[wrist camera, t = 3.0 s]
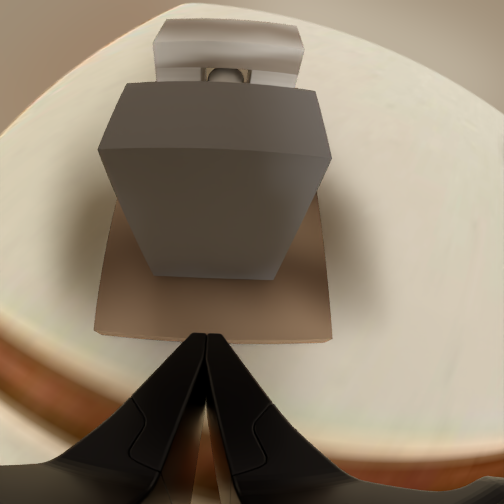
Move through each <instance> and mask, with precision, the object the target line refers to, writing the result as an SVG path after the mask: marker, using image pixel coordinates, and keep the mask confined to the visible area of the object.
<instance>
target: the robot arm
mask: <svg viewBox="0 0 504 504" xmlns="http://www.w3.org/2000/svg"><path fill="white" fill-rule="evenodd" d="M205 407H206V408H207V417H208V425H209V432H210V439H211V446H212V452H213V459H214V465H215V471H216V477H217V483H218V489H219V494H220V500H221V504H504V478H500V477H491V476H485V477H482V478H480V479H478V480H476V481H474V482H472V483H471V484H469V485H467V486H465V487H462V488H459V489H456V490H451V491H442V492H435V491H423V490H414V489H407V488H400V487H394V486H388V485H382V484H377V483H372V482H367V481H363V480H359V479H357V478H354V477H352V476H350V475H349V474H347V473H345V472H344V471H342V470H341V469H340V468H339V467H337V466H336V465H335V464H334V463H333V462H331V461H330V460H329V459H328V458H327V457H326V456H324V455H323V454H322V453H321V452H320V451H319V450H318V449H316V448H315V447H314V446H313V445H312V444H311V443H310V442H309V441H307V440H306V439H305V438H304V437H303V436H302V435H301V434H300V433H299V432H298V431H297V430H296V429H295V428H294V427H293V426H292V425H291V424H290V423H289V422H288V421H287V419H286V418H285V417H284V416H283V415H282V414H281V412H280V411H279V410H278V409H277V407H276V406H275V405H274V404H273V403H272V401H271V400H270V398H269V397H268V396H267V395H266V393H265V392H264V391H263V389H262V388H261V387H260V385H259V384H258V383H257V381H256V380H255V379H254V377H253V376H252V375H251V373H250V372H249V371H248V369H247V368H246V367H245V365H244V364H243V363H242V361H241V360H240V359H239V357H238V356H237V354H236V353H235V352H234V350H233V349H232V348H231V346H230V345H229V343H228V342H227V341H226V339H225V338H224V336H223V335H222V334H220V333H208V334H207V335H206V333H195V332H193V333H191V334H190V335H189V336H188V337H187V338H186V339H185V341H184V342H183V343H182V344H181V345H180V346H179V347H178V348H177V349H176V350H175V351H174V352H173V353H172V354H171V355H170V356H169V357H168V358H167V359H166V360H165V361H164V362H163V364H162V365H161V366H160V367H159V368H158V369H157V370H156V371H155V372H154V373H153V374H152V375H151V376H150V377H149V378H148V379H147V380H146V381H145V382H144V383H143V384H142V385H141V386H140V387H139V388H138V389H137V390H136V392H135V393H134V394H133V395H132V396H131V398H129V399H128V400H127V401H126V402H125V403H124V404H123V405H122V406H121V407H120V408H119V409H118V410H117V411H115V412H114V413H113V414H112V415H111V416H110V417H109V418H108V419H107V420H105V421H104V422H103V423H102V424H101V425H99V426H98V427H97V428H96V429H94V430H93V431H92V432H91V433H89V434H88V435H87V436H85V437H84V438H83V439H81V440H80V441H79V442H77V443H76V444H75V445H73V446H72V447H71V448H69V449H68V450H67V451H65V452H64V453H63V454H61V455H60V456H58V457H56V458H54V459H52V460H50V461H47V462H44V463H39V464H27V465H4V466H0V504H190V503H191V497H192V490H193V483H194V477H195V470H196V464H197V457H198V451H199V445H200V439H201V432H202V426H203V420H204V414H205Z"/></svg>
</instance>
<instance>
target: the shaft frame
mask: <svg viewBox="0 0 504 504" xmlns="http://www.w3.org/2000/svg"><path fill="white" fill-rule="evenodd" d="M153 51H154V61H155V71H156V80H157V81H155V82H164V81H206V68H231V69H247V70H248V76H247V83H250V84H262V85H272V86H281V87H290V88H295V85H296V81H297V77H298V73H299V69H300V65H301V61H302V58H303V54H304V47H303V44H302V41H301V38H300V35H299V32H298V29H297V26H293V25H286V24H278V23H270V22H260V21H249V20H234V19H166V21H165V23H164V24H163V26H162V28H161V29H160V31H159V33H158V34H157V36H156V38H155V39H154V41H153ZM297 89H298V88H297ZM94 331H96V332H98V333H99V334H101V335H109V336H118V337H128V338H139V339H151V340H165V341H181V342H184V341H185V339H186V338H187V337H188V336H189V335H190V334H191V333H193V332H195V333H206V335H207V334H208V333H220V334H222V335H223V336H224V338H225V339H226V341H227V342H228V343H233V344H291V343H323V342H327V341H329V340H331V339H332V326H331V313H330V301H329V290H328V280H327V270H326V261H325V252H324V243H323V235H322V227H321V219H320V212H319V205H318V198H317V191H316V193H315V196H314V198H313V200H312V202H311V204H310V206H309V208H308V210H307V212H306V214H305V216H304V219H303V221H302V223H301V225H300V227H299V229H298V231H297V233H296V235H295V237H294V239H293V241H292V243H291V245H290V247H289V249H288V251H287V253H286V256H285V258H284V260H283V262H282V264H281V266H280V268H279V270H278V272H277V274H276V276H275V278H274V280H253V279H222V278H195V277H172V276H154V275H153V273H152V271H151V269H150V267H149V265H148V263H147V261H146V259H145V257H144V255H143V253H142V251H141V249H140V247H139V245H138V243H137V241H136V239H135V236H134V234H133V232H132V230H131V228H130V226H129V223H128V221H127V219H126V217H125V215H124V212H123V210H122V208H121V206H120V203H119V201H118V199H117V202H116V206H115V210H114V214H113V218H112V223H111V227H110V232H109V236H108V241H107V246H106V251H105V257H104V262H103V268H102V273H101V280H100V286H99V292H98V299H97V307H96V315H95V323H94Z"/></svg>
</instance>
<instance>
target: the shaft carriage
mask: <svg viewBox="0 0 504 504" xmlns="http://www.w3.org/2000/svg"><path fill="white" fill-rule="evenodd" d="M98 152H99V155H100V157H101V160H102V162H103V165H104V167H105V170H106V172H107V175H108V177H109V180H110V182H111V185H112V187H113V189H114V192H115V194H116V196H117V199H118V201H119V203H120V206H121V208H122V210H123V212H124V215H125V217H126V219H127V221H128V223H129V226H130V228H131V230H132V232H133V234H134V236H135V239H136V241H137V243H138V245H139V247H140V249H141V251H142V253H143V255H144V257H145V259H146V261H147V263H148V265H149V267H150V269H151V271H152V273H153V275H154V276H172V277H195V278H222V279H253V280H274V278H275V276H276V274H277V272H278V270H279V268H280V266H281V264H282V262H283V260H284V258H285V256H286V253H287V251H288V249H289V247H290V245H291V243H292V241H293V239H294V237H295V235H296V233H297V231H298V229H299V227H300V225H301V223H302V221H303V219H304V216H305V214H306V212H307V210H308V208H309V206H310V204H311V202H312V200H313V198H314V196H315V193H316V191H317V189H318V187H319V185H320V183H321V181H322V178H323V176H324V174H325V172H326V170H327V168H328V166H329V163H330V161H331V159H332V157H331V152H330V148H329V143H328V139H327V135H326V131H325V127H324V123H323V119H322V115H321V111H320V107H319V103H318V99H317V96H316V92H315V91H311V90H305V89H297V88H290V87H281V86H272V85H262V84H250V83H244V78H243V75H242V73H241V72H240V71H239V70H238V69H231V68H215V69H214V70H213V71H212V72H211V73H210V74H209V77H208V81H164V82H142V83H127V84H126V86H125V88H124V90H123V92H122V94H121V96H120V99H119V101H118V103H117V105H116V107H115V109H114V112H113V114H112V116H111V118H110V121H109V123H108V125H107V128H106V130H105V132H104V135H103V137H102V140H101V142H100V145H99V147H98Z"/></svg>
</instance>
